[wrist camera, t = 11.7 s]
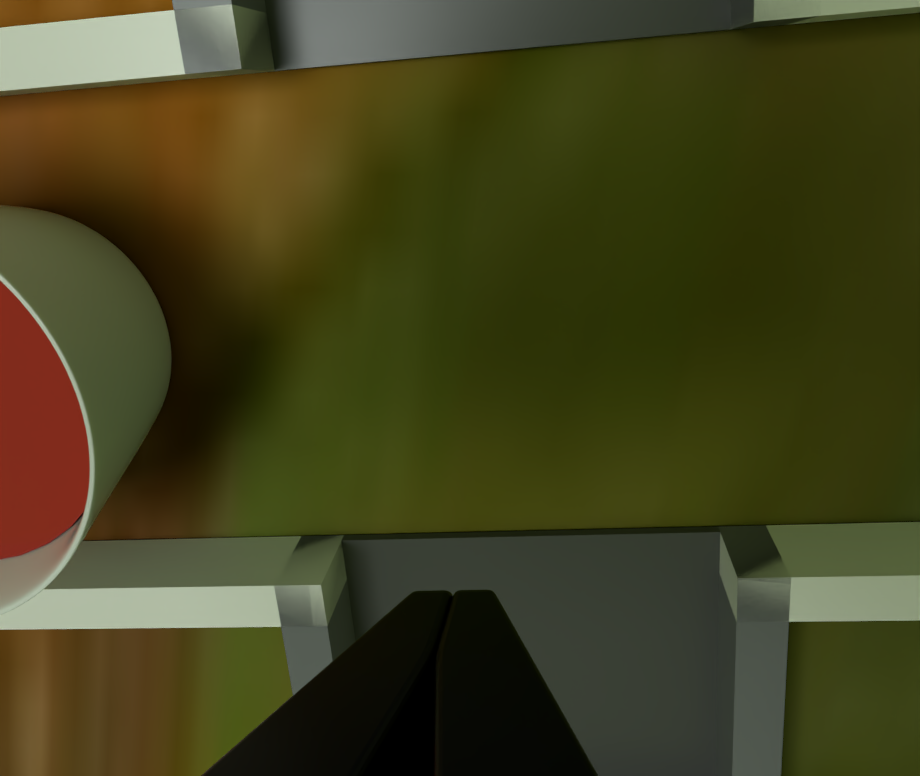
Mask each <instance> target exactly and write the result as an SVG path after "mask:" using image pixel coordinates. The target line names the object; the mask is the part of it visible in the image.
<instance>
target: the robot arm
mask: <svg viewBox="0 0 920 776" xmlns="http://www.w3.org/2000/svg"><path fill="white" fill-rule="evenodd" d="M201 776H599V775H598V774H597V772H596V770H595V768H594V767H593V765H592V763H591V761H590V760H589V758H588V756H587V754H586V753H585V751H584V749H583V747H582V745H581V744H580V742H579V740H578V738H577V737H576V735H575V733H574V731H573V730H572V728H571V726H570V724H569V723H568V721H567V719H566V717H565V715H564V714H563V712H562V710H561V708H560V707H559V705H558V703H557V701H556V700H555V698H554V696H553V694H552V693H551V691H550V689H549V687H548V685H547V684H546V682H545V680H544V678H543V677H542V675H541V673H540V671H539V670H538V668H537V666H536V664H535V662H534V661H533V659H532V657H531V655H530V654H529V652H528V650H527V648H526V647H525V645H524V643H523V641H522V640H521V638H520V636H519V634H518V632H517V631H516V629H515V627H514V625H513V624H512V622H511V620H510V618H509V617H508V615H507V613H506V611H505V610H504V608H503V606H502V604H501V602H500V601H499V599H498V597H497V595H496V594H495V593H494V592H493V591H492V590H459V591H456V592H455V593H454V595H452V593H451V592H449V591H446V590H430V591H414V592H412V593H411V594H409V595H408V596H407V597H406V598H405V599H403V600H402V601H401V602H400V603H399V604H398V605H397V606H395V607H394V608H393V609H392V610H391V611H390V612H388V613H387V614H386V615H385V616H384V617H383V618H382V619H380V620H379V621H378V622H377V623H376V624H375V625H374V626H372V627H371V628H370V629H369V630H368V631H367V632H366V633H364V634H363V635H362V636H361V637H360V638H359V639H357V640H356V641H355V642H354V643H353V644H352V645H351V646H349V647H348V648H347V649H346V650H345V651H344V652H343V653H341V654H340V655H339V656H338V657H337V658H336V659H335V660H333V661H332V662H331V663H330V664H329V665H328V666H326V667H325V668H324V669H323V670H322V671H321V672H320V673H318V674H317V675H316V676H315V677H314V678H313V679H312V680H310V681H309V682H308V683H307V684H306V685H305V686H303V687H302V688H301V689H300V690H299V691H298V692H297V693H295V694H294V695H293V696H292V697H291V698H290V699H289V700H287V701H286V702H285V703H284V704H283V705H282V706H281V707H279V708H278V709H277V710H276V711H275V712H274V713H272V714H271V715H270V716H269V717H268V718H267V719H266V720H264V721H263V722H262V723H261V724H260V725H259V726H258V727H256V728H255V729H254V730H253V731H252V732H251V733H249V734H248V735H247V736H246V737H245V738H244V739H243V740H241V741H240V742H239V743H238V744H237V745H236V746H235V747H233V748H232V749H231V750H230V751H229V752H228V753H227V754H225V755H224V756H223V757H222V758H221V759H220V760H218V761H217V762H216V763H215V764H214V765H213V766H212V767H210V768H209V769H208V770H207V771H206V772H205V773H204V774H202V775H201Z"/></svg>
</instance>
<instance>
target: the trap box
mask: <svg viewBox="0 0 920 776" xmlns="http://www.w3.org/2000/svg"><path fill="white" fill-rule="evenodd" d="M172 2H173V8H174V10H170V11H160V12H151V13H141V14H131V15H121V16H111V17H101V18H91V19H82V20H72V21H62V22H52V23H42V24H32V25H22V26H13V27H3V28H0V96H9V95H20V94H31V93H42V92H53V91H64V90H75V89H86V88H97V87H108V86H119V85H130V84H141V83H152V82H163V81H174V80H185V79H196V78H207V77H218V76H229V75H240V74H251V73H262V72H273V71H284V70H295V69H306V68H317V67H328V66H339V65H350V64H361V63H372V62H383V61H394V60H404V59H415V58H426V57H437V56H448V55H459V54H470V53H481V52H492V51H503V50H514V49H525V48H536V47H547V46H558V45H569V44H580V43H591V42H602V41H613V40H624V39H635V38H646V37H657V36H668V35H679V34H690V33H701V32H712V31H723V30H734V29H745V28H756V27H767V26H778V25H789V24H800V23H811V22H822V21H833V20H844V19H855V18H866V17H877V16H888V15H899V14H910V13H920V0H172ZM430 590H446V591H449V592H451V593H452V595H454V593H455V592H456V591H459V590H492V591H493V592H494V593H495V594H496V595H497V597H498V599H499V601H500V602H501V604H502V606H503V608H504V610H505V611H506V613H507V615H508V617H509V618H510V620H511V622H512V624H513V625H514V627H515V629H516V631H517V632H518V634H519V636H520V638H521V640H522V641H523V643H524V645H525V647H526V648H527V650H528V652H529V654H530V655H531V657H532V659H533V661H534V662H535V664H536V666H537V668H538V670H539V671H540V673H541V675H542V677H543V678H544V680H545V682H546V684H547V685H548V687H549V689H550V691H551V693H552V694H553V696H554V698H555V700H556V701H557V703H558V705H559V707H560V708H561V710H562V712H563V714H564V715H565V717H566V719H567V721H568V723H569V724H570V726H571V728H572V730H573V731H574V733H575V735H576V737H577V738H578V740H579V742H580V744H581V745H582V747H583V749H584V751H585V753H586V754H587V756H588V758H589V760H590V761H591V763H592V765H593V767H594V768H595V770H596V772H597V774H598V775H599V776H781V766H782V746H783V727H784V707H785V688H786V669H787V649H788V630H789V622H811V621H912V620H920V522H892V523H848V524H805V525H762V526H718V527H675V528H631V529H588V530H545V531H501V532H458V533H415V534H371V535H328V536H284V537H241V538H198V539H154V540H111V541H82V543H81V544H80V546H79V548H78V549H77V551H76V552H75V554H74V555H73V557H72V558H71V560H70V561H69V562H68V564H67V565H66V566H65V568H64V569H63V570H62V571H61V573H60V574H59V575H58V576H57V577H56V578H55V579H54V580H53V581H52V582H51V583H50V584H49V585H48V586H47V587H46V588H45V589H43V590H42V591H41V592H40V593H38V594H37V595H36V596H34V597H33V598H32V599H30V600H29V601H27V602H25V603H24V604H22V605H20V606H19V607H17V608H15V609H13V610H11V611H8V612H6V613H4V614H1V615H0V630H3V629H104V628H205V627H281V628H282V634H283V640H284V645H285V651H286V657H287V663H288V668H289V674H290V680H291V686H292V691H293V695H294V694H295V693H297V692H298V691H299V690H300V689H301V688H302V687H303V686H305V685H306V684H307V683H308V682H309V681H310V680H312V679H313V678H314V677H315V676H316V675H317V674H318V673H320V672H321V671H322V670H323V669H324V668H325V667H326V666H328V665H329V664H330V663H331V662H332V661H333V660H335V659H336V658H337V657H338V656H339V655H340V654H341V653H343V652H344V651H345V650H346V649H347V648H348V647H349V646H351V645H352V644H353V643H354V642H355V641H356V640H357V639H359V638H360V637H361V636H362V635H363V634H364V633H366V632H367V631H368V630H369V629H370V628H371V627H372V626H374V625H375V624H376V623H377V622H378V621H379V620H380V619H382V618H383V617H384V616H385V615H386V614H387V613H388V612H390V611H391V610H392V609H393V608H394V607H395V606H397V605H398V604H399V603H400V602H401V601H402V600H403V599H405V598H406V597H407V596H408V595H409V594H411V593H412V592H414V591H430Z"/></svg>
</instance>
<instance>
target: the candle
mask: <svg viewBox="0 0 920 776" xmlns="http://www.w3.org/2000/svg"><path fill="white" fill-rule="evenodd" d="M171 365H172V355H171V343H170V337H169V332H168V328H167V324H166V321H165V318H164V315H163V312H162V309H161V307H160V305H159V302H158V300H157V298H156V296H155V294H154V292H153V291H152V289H151V287H150V286H149V284H148V282H147V281H146V279H145V278H144V276H143V275H142V274H141V272H140V271H139V270H138V269H137V267H136V266H135V265H134V264H133V263H132V261H131V260H130V259H129V258H128V257H127V256H126V255H125V254H124V253H123V252H122V251H121V250H120V249H118V248H117V247H116V246H115V245H114V244H113V243H111V242H110V241H109V240H107V239H106V238H105V237H103V236H102V235H100V234H99V233H97V232H96V231H94V230H93V229H91V228H89V227H87V226H85V225H83V224H81V223H79V222H77V221H75V220H73V219H70V218H68V217H65V216H62V215H59V214H56V213H52V212H49V211H44V210H39V209H34V208H27V207H19V206H9V205H0V615H1V614H4V613H6V612H8V611H11V610H13V609H15V608H17V607H19V606H20V605H22V604H24V603H25V602H27V601H29V600H30V599H32V598H33V597H34V596H36V595H37V594H38V593H40V592H41V591H42V590H43V589H45V588H46V587H47V586H48V585H49V584H50V583H51V582H52V581H53V580H54V579H55V578H56V577H57V576H58V575H59V574H60V573H61V571H62V570H63V569H64V568H65V566H66V565H67V564H68V562H69V561H70V560H71V558H72V557H73V555H74V554H75V552H76V551H77V549H78V548H79V546H80V544H81V543H82V541H83V539H84V538H85V536H86V535H87V533H88V531H89V530H90V528H91V526H92V525H93V523H94V522H95V520H96V518H97V517H98V515H99V513H100V512H101V510H102V508H103V507H104V505H105V504H106V502H107V500H108V499H109V497H110V495H111V494H112V492H113V491H114V489H115V487H116V486H117V484H118V482H119V481H120V479H121V477H122V476H123V474H124V473H125V471H126V469H127V468H128V466H129V464H130V463H131V461H132V459H133V458H134V456H135V455H136V453H137V451H138V450H139V448H140V446H141V445H142V443H143V441H144V440H145V438H146V436H147V435H148V433H149V431H150V429H151V428H152V426H153V424H154V422H155V420H156V418H157V417H158V415H159V412H160V410H161V408H162V406H163V403H164V401H165V398H166V395H167V391H168V387H169V383H170V376H171Z"/></svg>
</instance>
